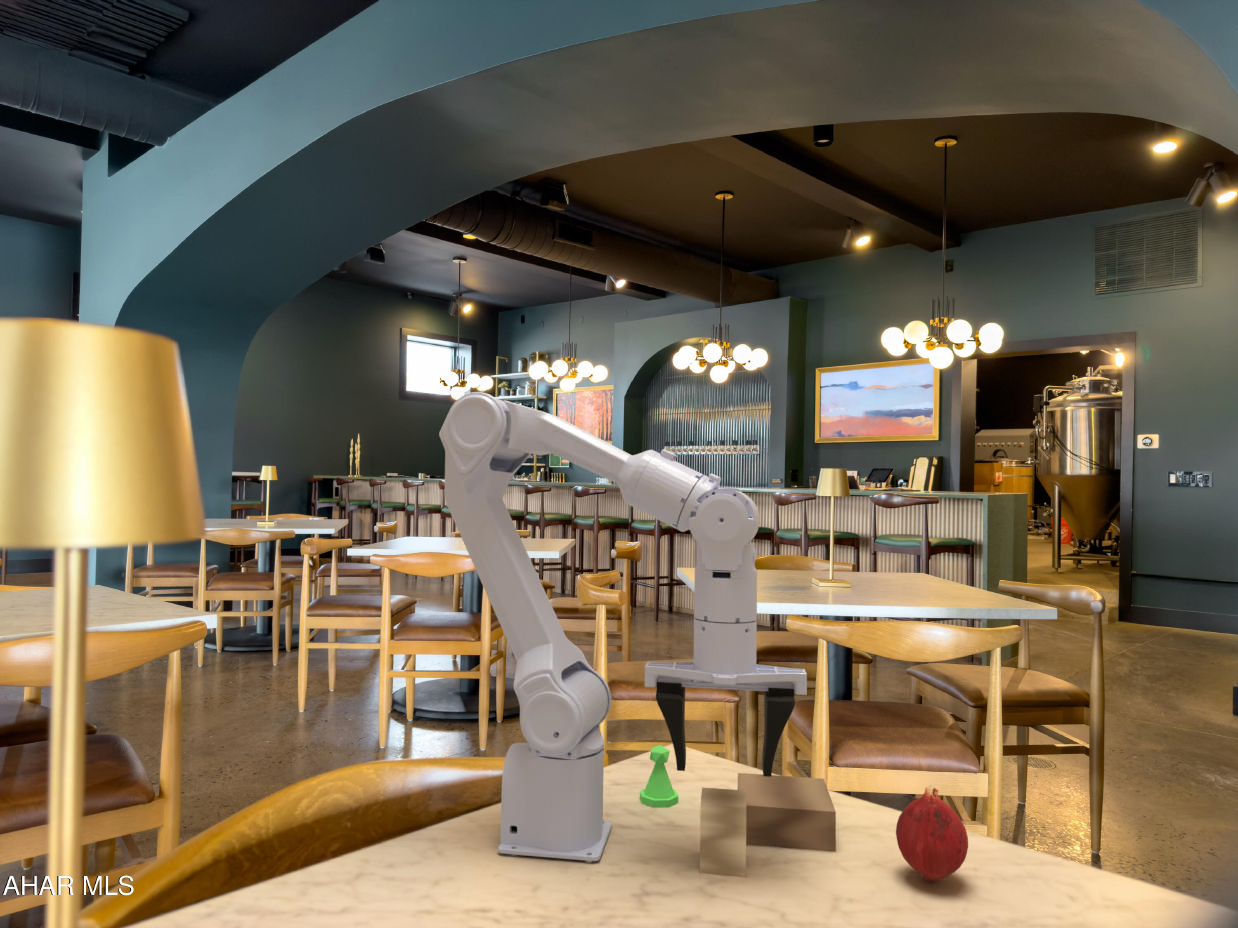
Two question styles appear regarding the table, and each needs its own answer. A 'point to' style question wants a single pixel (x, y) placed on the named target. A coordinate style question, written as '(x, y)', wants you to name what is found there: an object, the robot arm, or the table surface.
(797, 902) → the table surface
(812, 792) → the walnut block
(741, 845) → the maple block
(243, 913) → the table surface
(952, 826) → the onion
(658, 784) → the game piece
